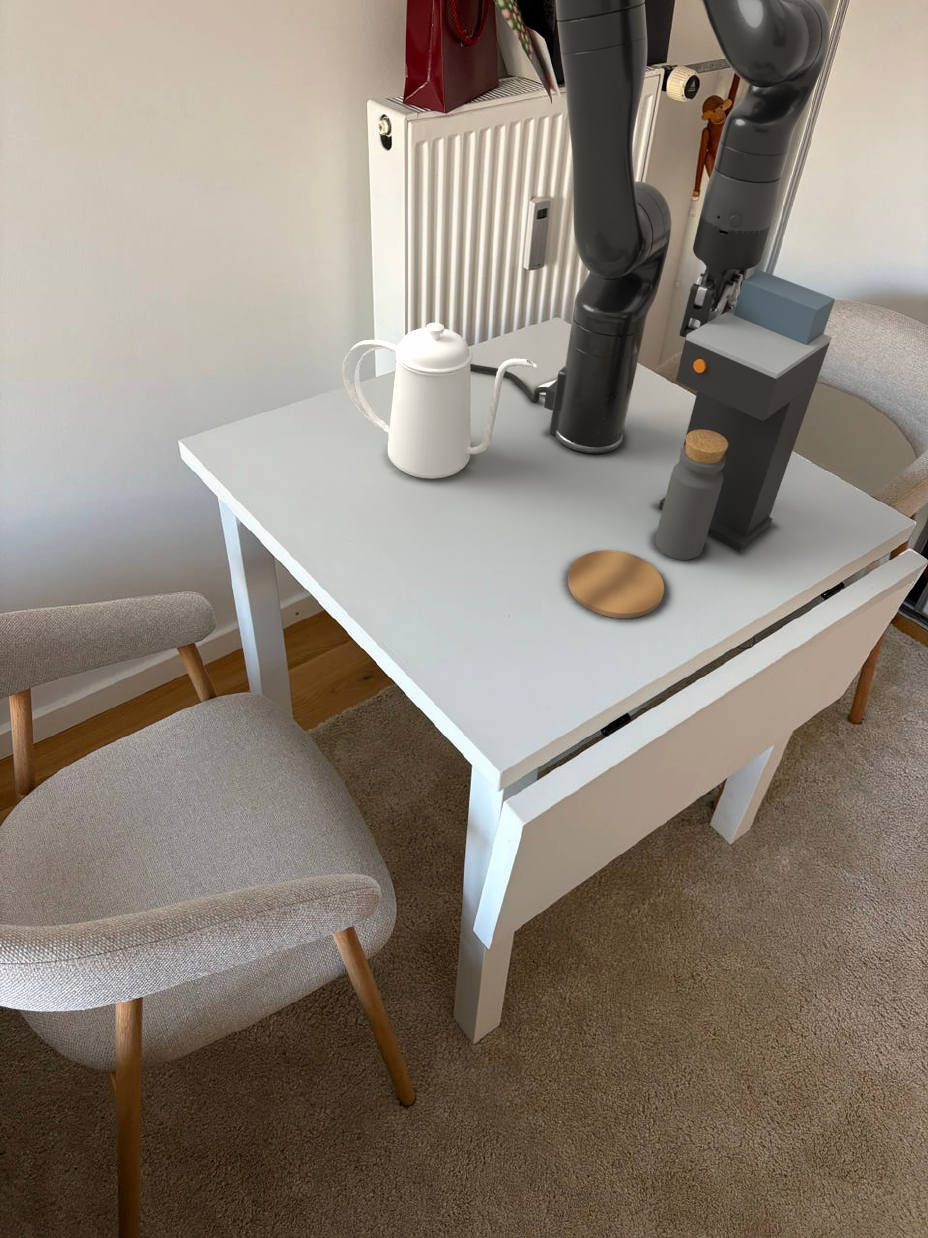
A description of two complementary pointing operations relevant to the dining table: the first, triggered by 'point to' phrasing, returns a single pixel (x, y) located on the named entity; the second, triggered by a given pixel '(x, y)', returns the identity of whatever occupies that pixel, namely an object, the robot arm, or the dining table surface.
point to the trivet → (616, 584)
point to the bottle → (692, 495)
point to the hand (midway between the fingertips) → (701, 351)
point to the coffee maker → (755, 393)
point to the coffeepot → (430, 401)
